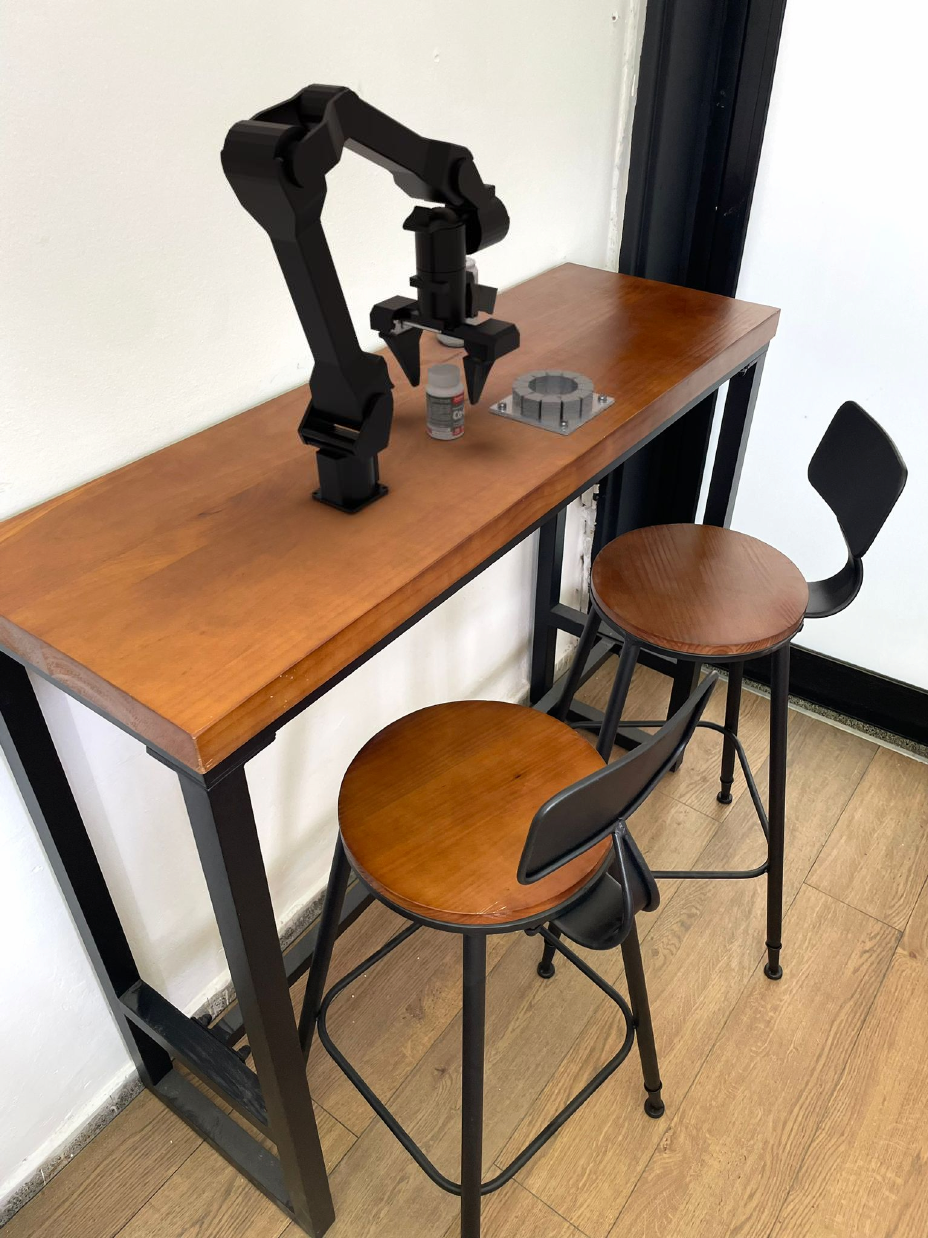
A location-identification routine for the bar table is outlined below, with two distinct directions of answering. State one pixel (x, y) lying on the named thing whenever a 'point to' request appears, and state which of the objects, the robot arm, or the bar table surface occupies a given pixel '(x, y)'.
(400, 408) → the bar table surface
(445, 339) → the beverage can
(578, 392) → the socket
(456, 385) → the pill bottle
